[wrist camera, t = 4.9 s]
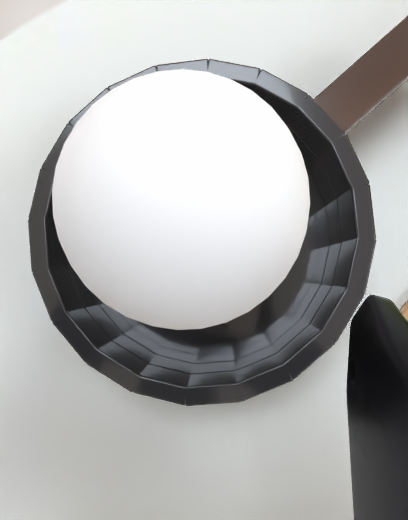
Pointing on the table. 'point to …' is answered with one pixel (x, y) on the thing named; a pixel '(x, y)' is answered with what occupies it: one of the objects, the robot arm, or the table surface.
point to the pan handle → (368, 80)
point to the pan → (260, 317)
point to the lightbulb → (181, 199)
